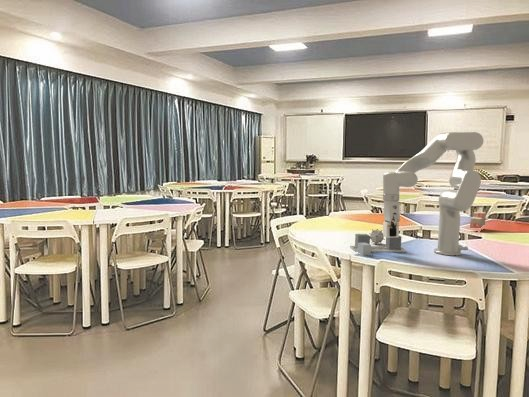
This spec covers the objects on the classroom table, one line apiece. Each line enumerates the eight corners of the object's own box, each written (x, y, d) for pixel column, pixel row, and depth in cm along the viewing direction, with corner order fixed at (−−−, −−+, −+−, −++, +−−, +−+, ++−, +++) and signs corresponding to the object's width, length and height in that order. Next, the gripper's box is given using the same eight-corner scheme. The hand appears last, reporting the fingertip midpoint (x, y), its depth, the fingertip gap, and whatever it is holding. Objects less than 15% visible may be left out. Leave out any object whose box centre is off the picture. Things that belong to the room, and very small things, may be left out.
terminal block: (364, 252, 210) (365, 242, 210) (370, 255, 204) (371, 245, 204) (357, 252, 209) (357, 242, 209) (362, 255, 203) (363, 245, 203)
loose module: (394, 235, 210) (395, 221, 210) (398, 237, 205) (398, 222, 205) (382, 235, 210) (383, 221, 209) (386, 237, 205) (386, 223, 204)
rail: (399, 248, 222) (400, 233, 222) (406, 252, 213) (406, 236, 213) (349, 247, 221) (350, 232, 220) (354, 251, 212) (355, 235, 211)
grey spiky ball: (374, 249, 237) (375, 233, 242) (388, 246, 231) (388, 230, 236) (364, 242, 232) (366, 226, 237) (378, 239, 226) (379, 223, 231)
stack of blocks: (479, 232, 287) (481, 214, 286) (469, 231, 290) (470, 213, 289) (484, 229, 304) (486, 211, 303) (475, 228, 308) (476, 211, 307)
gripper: (405, 199, 198) (405, 238, 199) (392, 196, 215) (392, 232, 216) (389, 199, 197) (389, 238, 199) (377, 196, 214) (377, 232, 216)
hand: (390, 234), depth 208 cm, fingers closed on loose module, 5 cm apart
